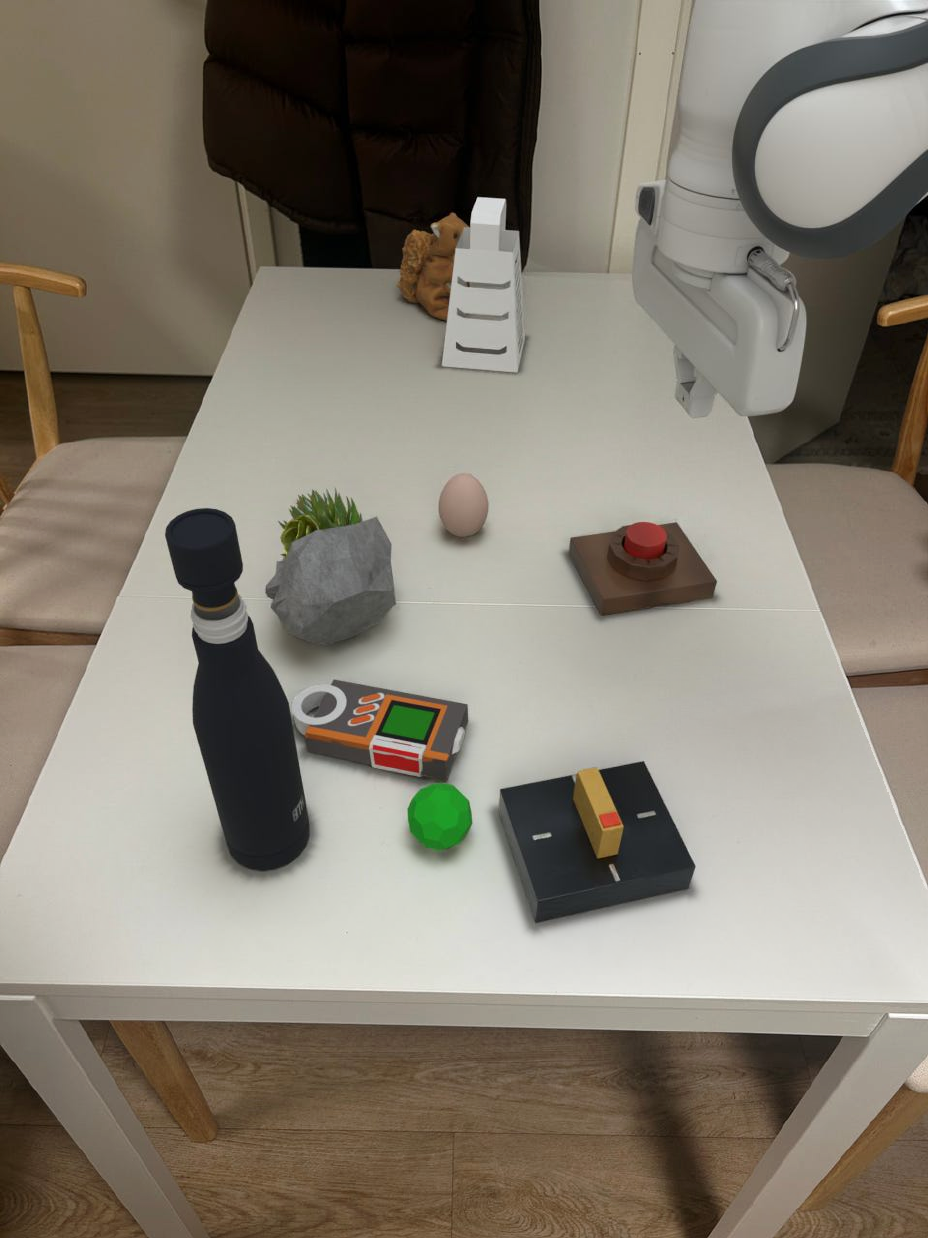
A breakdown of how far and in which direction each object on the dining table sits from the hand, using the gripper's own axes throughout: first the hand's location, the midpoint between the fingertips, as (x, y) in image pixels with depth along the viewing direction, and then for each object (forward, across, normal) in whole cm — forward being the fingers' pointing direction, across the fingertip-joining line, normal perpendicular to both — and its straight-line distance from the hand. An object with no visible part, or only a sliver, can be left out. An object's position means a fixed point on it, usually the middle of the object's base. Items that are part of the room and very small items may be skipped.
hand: (691, 408), depth 72 cm
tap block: (+26, -20, +13) cm, 35 cm away
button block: (+25, +10, -3) cm, 27 cm away
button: (+22, +10, -3) cm, 24 cm away
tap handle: (+22, -20, +13) cm, 33 cm away
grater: (+25, +61, 0) cm, 66 cm away
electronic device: (+26, -5, +27) cm, 37 cm away
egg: (+25, +21, +13) cm, 35 cm away
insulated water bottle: (+26, -13, +37) cm, 47 cm away
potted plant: (+25, +12, +29) cm, 40 cm away
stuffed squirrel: (+25, +78, +3) cm, 82 cm away
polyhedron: (+26, -16, +24) cm, 38 cm away
